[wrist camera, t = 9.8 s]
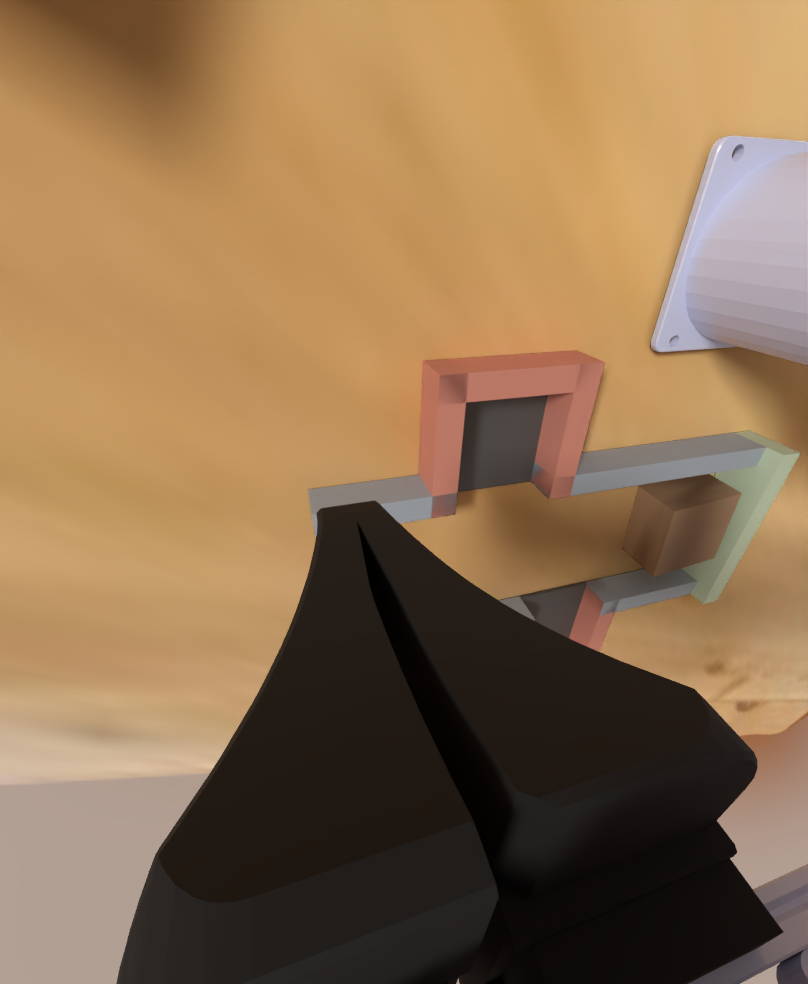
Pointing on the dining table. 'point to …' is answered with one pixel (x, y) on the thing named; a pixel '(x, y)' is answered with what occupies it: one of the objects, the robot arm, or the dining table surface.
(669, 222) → the dining table surface
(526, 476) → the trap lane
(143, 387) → the dining table surface
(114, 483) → the dining table surface
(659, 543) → the walnut block
